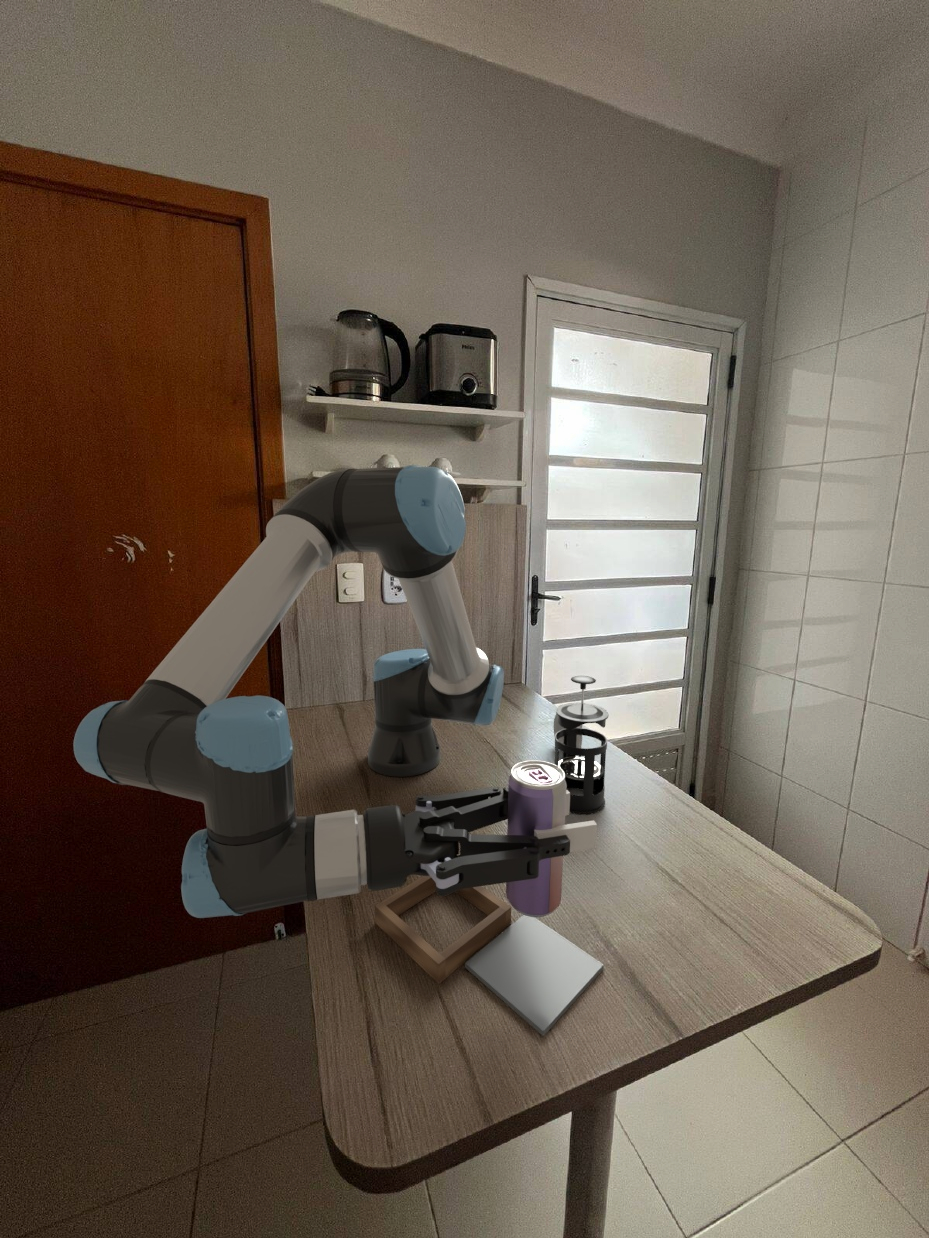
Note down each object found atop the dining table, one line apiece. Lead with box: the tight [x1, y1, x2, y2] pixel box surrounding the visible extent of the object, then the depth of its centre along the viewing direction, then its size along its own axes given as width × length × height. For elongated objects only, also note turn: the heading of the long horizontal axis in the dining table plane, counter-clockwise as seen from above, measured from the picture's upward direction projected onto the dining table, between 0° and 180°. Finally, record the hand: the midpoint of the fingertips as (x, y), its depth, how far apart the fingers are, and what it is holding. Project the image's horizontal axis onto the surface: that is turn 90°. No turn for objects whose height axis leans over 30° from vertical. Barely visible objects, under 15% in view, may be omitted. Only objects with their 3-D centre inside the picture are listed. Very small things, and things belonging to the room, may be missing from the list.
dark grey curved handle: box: [553, 714, 580, 753], centre depth 110 cm, size 10×4×10 cm, turn 13°
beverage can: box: [505, 759, 567, 918], centre depth 55 cm, size 6×6×15 cm
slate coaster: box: [464, 914, 604, 1037], centre depth 58 cm, size 11×11×1 cm
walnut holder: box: [374, 875, 512, 984], centre depth 64 cm, size 12×12×2 cm
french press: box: [553, 675, 609, 815], centre depth 91 cm, size 12×9×23 cm
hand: (580, 817), depth 56 cm, fingers closed on beverage can, 6 cm apart
